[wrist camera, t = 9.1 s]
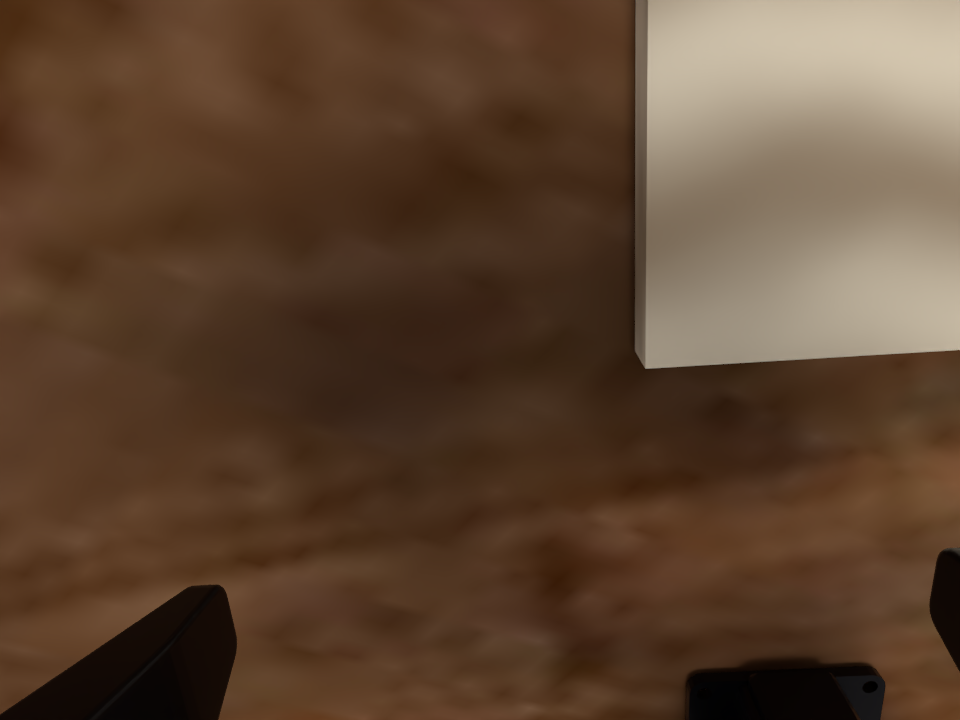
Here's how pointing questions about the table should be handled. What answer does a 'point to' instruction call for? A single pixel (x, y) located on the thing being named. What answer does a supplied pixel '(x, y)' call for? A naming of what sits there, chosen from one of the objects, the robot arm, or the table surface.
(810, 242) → the duct base
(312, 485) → the table surface
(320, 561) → the table surface
